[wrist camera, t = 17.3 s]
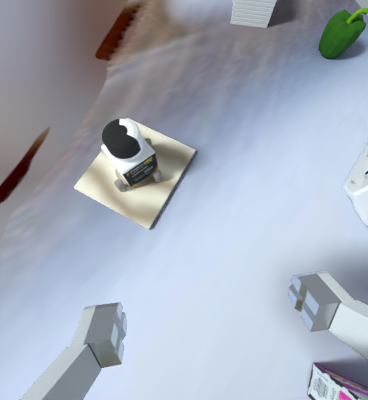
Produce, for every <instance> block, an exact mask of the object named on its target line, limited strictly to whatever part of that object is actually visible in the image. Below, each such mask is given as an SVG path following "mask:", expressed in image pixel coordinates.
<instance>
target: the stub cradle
mask: <svg viewBox="0 0 368 400" xmlns="http://www.w3.org/2000/svg"><path fill="white" fill-rule="evenodd" d="M126 119H128V120H131V119H129V118H126ZM131 121H133V120H131ZM133 122H134V123H135V124H136V125H137V126H138V128H139V130H140V133H141V136H142V137H143V138H144V140H145V141H146V142H147V143H148V144H149V145H150V146H151V148H152V149H153V150H154V151H155V154H156V159H157V163H158V167H159V169H155V170H153V172H152V174H151V175H150V176H149V177H147V178H146V179H144V180H143V181H142V182H140V183H139V184H137V185H136V186H135V187H133V188H131V187H130V186H129V185H128V184H127V182H126V181H125V180H124V179H123V177H122V176H121V175H120V174H119V172H118V171H117V170H116V168H115V167H114V166H113V165H112V163H111V162H110V160H109V159H108V157H107V156H106V154H105V153H104V151H103V150H102V151H101V152H100V154H99V155H98V156H97V158H96V159H95V160H94V162H93V163H92V164H91V166H90V167H89V168H88V169H87V171H86V172H85V173H84V175H83V176H82V177H81V179H80V180H79V181H78V183H77V184H76V185H75V186H74V189H76V190H78V191H79V192H81V193H83V194H85V195H87V196H88V197H90V198H92V199H94V200H96V201H98V202H99V203H101V204H103V205H105V206H107V207H108V208H110V209H112V210H114V211H116V212H118V213H119V214H121V215H123V216H125V217H127V218H128V219H130V220H132V221H134V222H136V223H138V224H139V225H141V226H143V227H145V228H147V229H148V230H149V229H150V228H151V226H152V224H153V223H154V221H155V219H156V218H157V216H158V214H159V213H160V211H161V209H162V208H163V206H164V204H165V202H166V201H167V199H168V197H169V196H170V194H171V192H172V191H173V189H174V187H175V186H176V184H177V182H178V181H179V179H180V177H181V175H182V174H183V172H184V170H185V169H186V167H187V165H188V164H189V162H190V160H191V159H192V157H193V155H194V154H195V149H192V148H190V147H188V146H186V145H184V144H182V143H180V142H178V141H175V140H173V139H171V138H169V137H167V136H165V135H163V134H161V133H158V132H156V131H154V130H152V129H150V128H148V127H146V126H144V125H141V124H139V123H137V122H135V121H133Z"/></svg>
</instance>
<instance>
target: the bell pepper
mask: <svg viewBox="0 0 368 400" xmlns="http://www.w3.org/2000/svg"><path fill="white" fill-rule="evenodd" d="M367 13H368V9H367V8H364V9H360V10H358V11H356V12H355V13H354V14H352V15H351V14H350V13H348V11H346V10H345V9H344V10H343V11H341V12H339V13H337V14H335V15H334V16H333V17H332V18H331V19H330V20H329V22H328V24H327V26H326V27H325V29H324V32H323V34H322V37H321V40H320V43H319V50H321V54H322V56H324V57H326V58H331V59H332V58H334V57H336V56H338V55H339V54H341V53H343V52H344V51H345V50H346V49H347V48H348V47H349V46H350V45H351V44H352V43H354V41H355V40H356V39H357V38H358V37H359V35H360V34H361V33H362V32H363V30H364V29H365V26H366V23H365V22H364V21H363V15H360V14H364V15H365V14H367Z"/></svg>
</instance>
